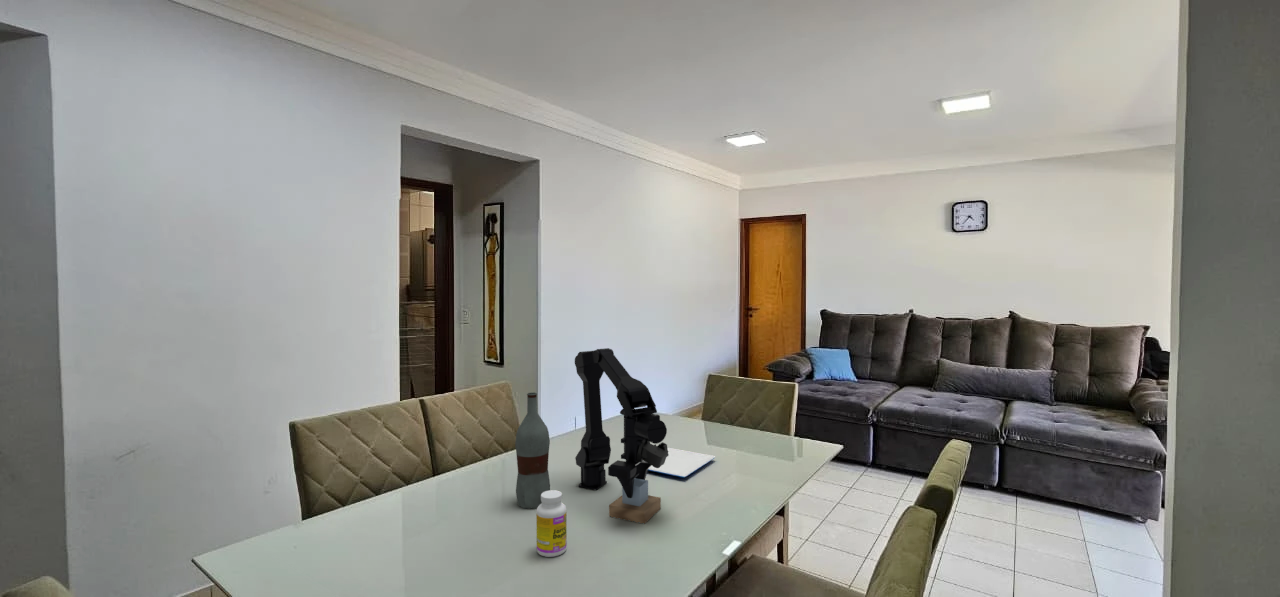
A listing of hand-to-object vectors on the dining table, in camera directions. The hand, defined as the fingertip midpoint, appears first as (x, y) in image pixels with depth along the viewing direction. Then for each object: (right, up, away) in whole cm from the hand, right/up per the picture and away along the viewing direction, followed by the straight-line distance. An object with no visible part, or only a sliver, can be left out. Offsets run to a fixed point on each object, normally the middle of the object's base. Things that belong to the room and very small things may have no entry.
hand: (635, 493), depth 143 cm
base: (0, -5, 0) cm, 5 cm away
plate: (+11, -4, +37) cm, 39 cm away
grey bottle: (-28, -5, +7) cm, 29 cm away
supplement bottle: (-18, -6, -20) cm, 28 cm away
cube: (0, -2, 0) cm, 2 cm away
